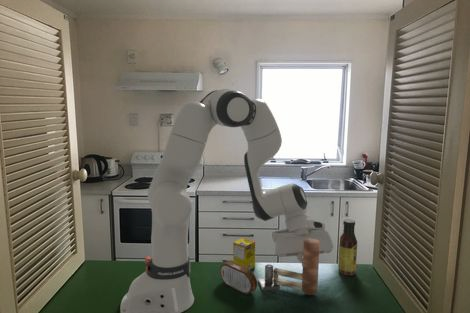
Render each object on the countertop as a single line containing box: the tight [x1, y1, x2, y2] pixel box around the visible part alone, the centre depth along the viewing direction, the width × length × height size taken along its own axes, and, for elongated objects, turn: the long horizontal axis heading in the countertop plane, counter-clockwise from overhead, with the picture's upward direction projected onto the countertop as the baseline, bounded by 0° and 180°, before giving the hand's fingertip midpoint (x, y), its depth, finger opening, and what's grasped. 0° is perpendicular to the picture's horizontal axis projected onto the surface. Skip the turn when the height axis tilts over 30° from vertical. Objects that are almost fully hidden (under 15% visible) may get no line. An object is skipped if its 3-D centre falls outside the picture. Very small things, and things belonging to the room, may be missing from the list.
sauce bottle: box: [338, 219, 358, 277], centre depth 127 cm, size 6×6×20 cm
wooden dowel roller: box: [273, 238, 320, 296], centre depth 114 cm, size 15×5×17 cm, turn 66°
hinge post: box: [257, 264, 281, 292], centre depth 119 cm, size 6×6×7 cm
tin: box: [219, 260, 258, 295], centre depth 117 cm, size 15×3×8 cm, turn 47°
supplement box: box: [232, 237, 256, 271], centre depth 130 cm, size 6×6×11 cm
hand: (308, 267), depth 115 cm, fingers closed
